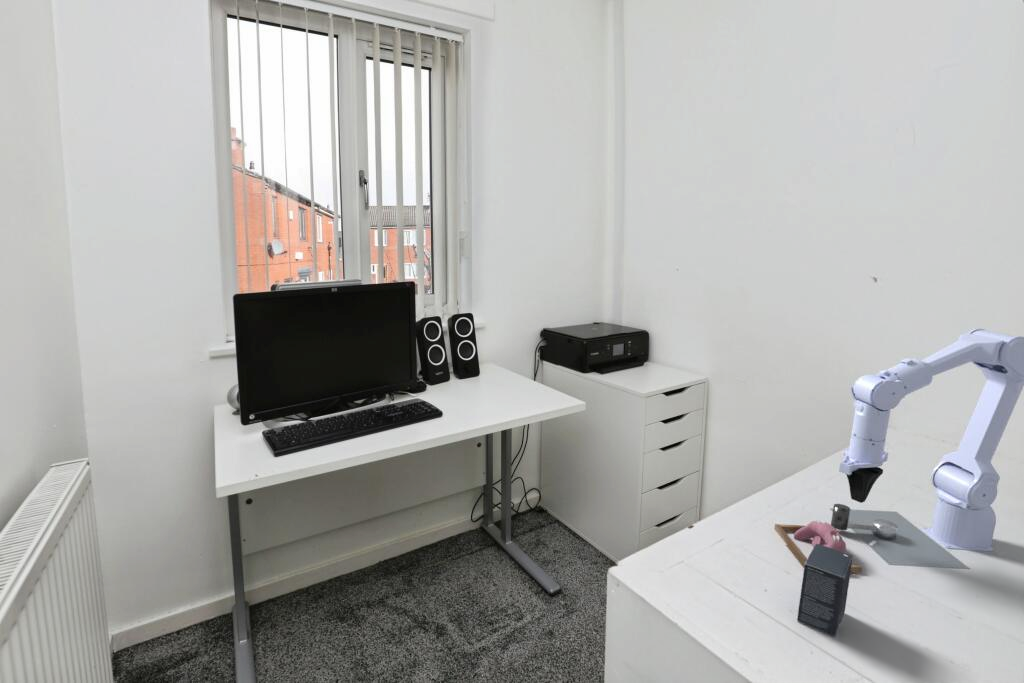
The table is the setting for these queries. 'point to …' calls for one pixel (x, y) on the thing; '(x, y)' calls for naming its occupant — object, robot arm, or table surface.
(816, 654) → the table surface
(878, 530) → the crank
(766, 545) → the table surface
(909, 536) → the plate
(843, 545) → the video game controller
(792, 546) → the bay
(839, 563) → the box
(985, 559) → the table surface
